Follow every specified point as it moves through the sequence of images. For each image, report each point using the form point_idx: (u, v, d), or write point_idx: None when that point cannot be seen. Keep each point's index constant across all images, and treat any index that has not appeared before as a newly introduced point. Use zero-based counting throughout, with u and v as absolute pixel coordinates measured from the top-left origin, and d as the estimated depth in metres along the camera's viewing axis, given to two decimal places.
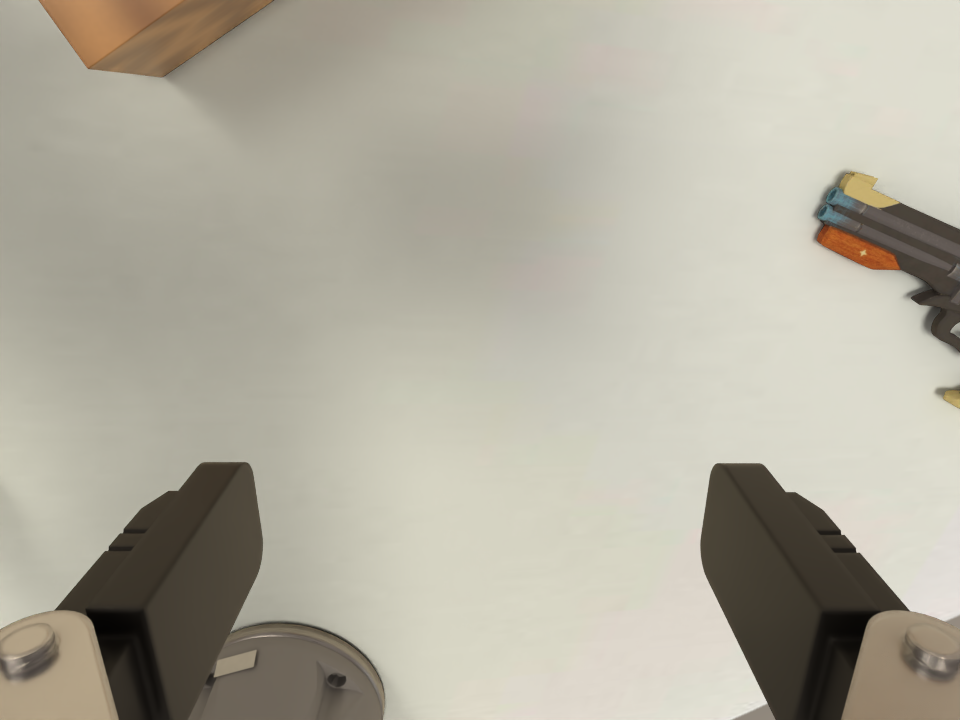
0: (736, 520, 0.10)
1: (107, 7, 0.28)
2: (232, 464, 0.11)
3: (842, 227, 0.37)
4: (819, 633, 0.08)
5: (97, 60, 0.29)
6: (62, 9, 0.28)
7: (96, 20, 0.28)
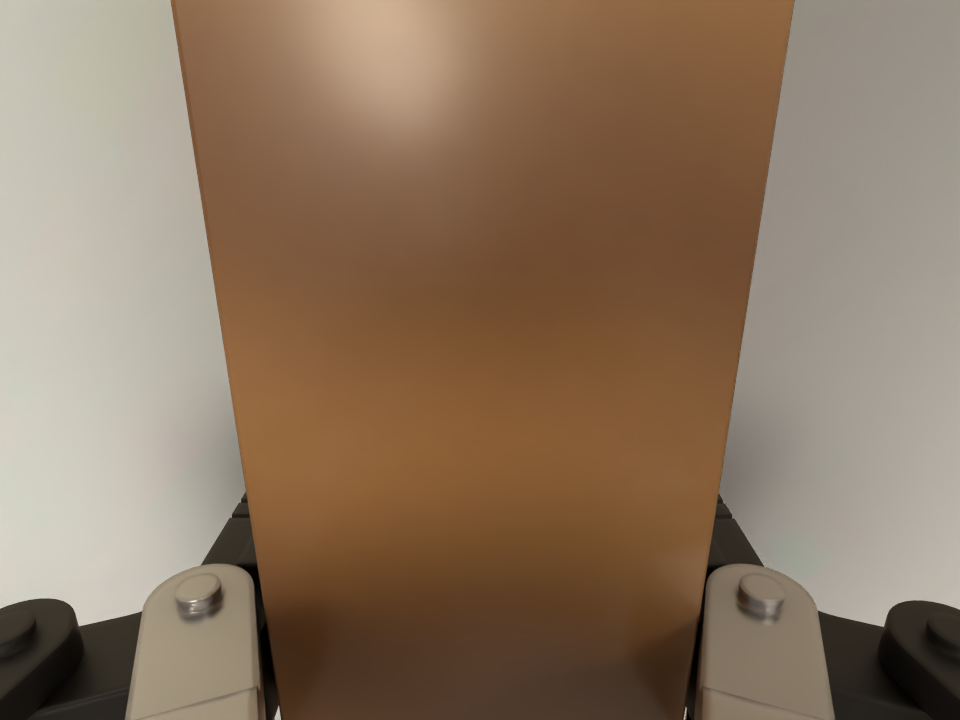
0: None
1: None
2: None
3: None
4: None
5: None
6: None
7: None
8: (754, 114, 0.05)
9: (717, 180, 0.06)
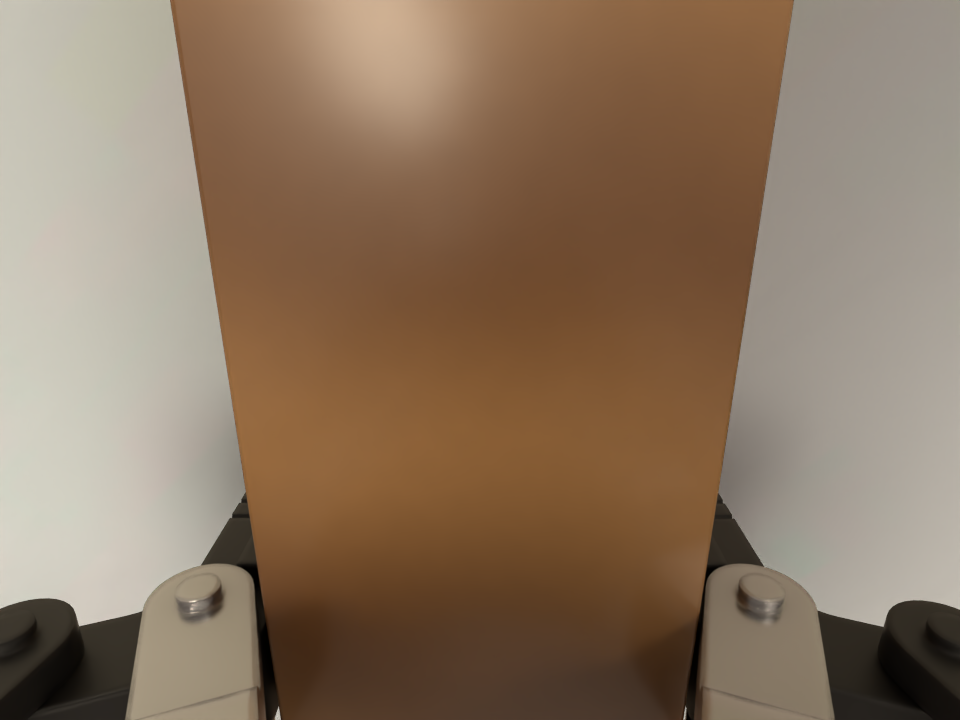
0: None
1: None
2: None
3: None
4: None
5: None
6: None
7: None
8: (753, 114, 0.05)
9: (717, 179, 0.06)
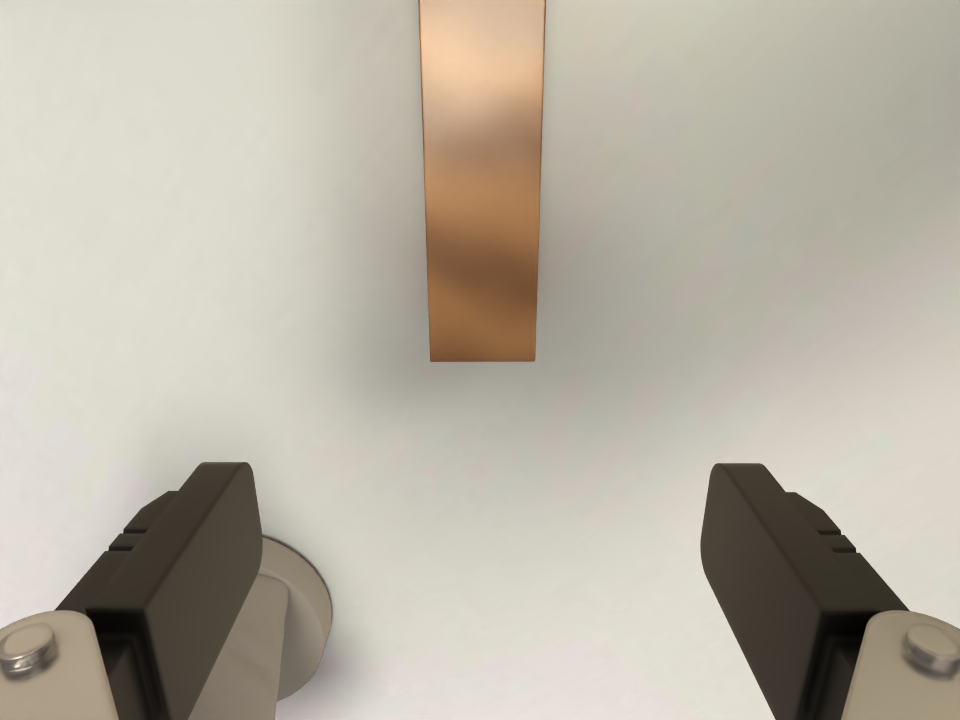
0: (736, 520, 0.10)
1: None
2: (232, 464, 0.11)
3: None
4: (819, 633, 0.08)
5: None
6: None
7: None
8: (537, 116, 0.26)
9: (531, 129, 0.27)
